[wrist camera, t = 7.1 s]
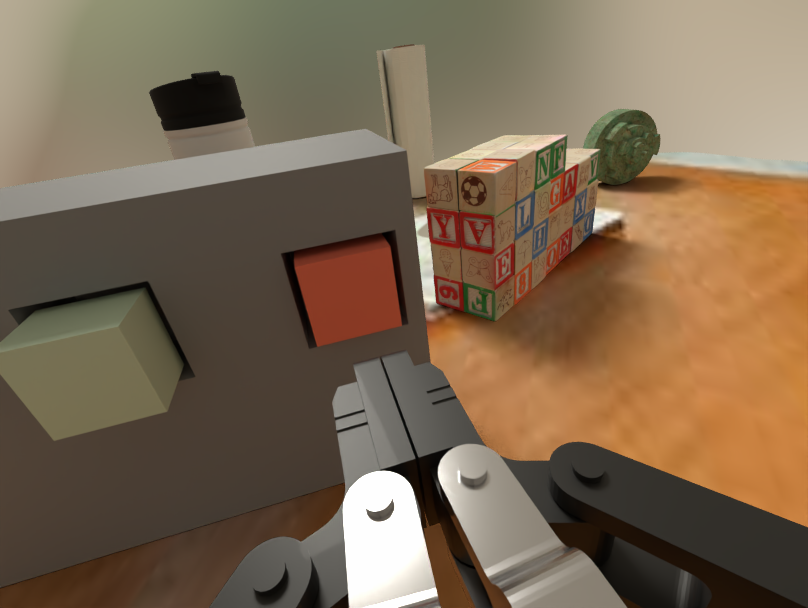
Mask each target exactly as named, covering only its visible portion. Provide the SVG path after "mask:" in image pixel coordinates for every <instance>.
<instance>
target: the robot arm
mask: <svg viewBox="0 0 808 608" xmlns="http://www.w3.org/2000/svg"><path fill="white" fill-rule="evenodd" d="M380 360H381V362H380ZM353 367H354V371H355V375H356V380H357V382H354V383H351V384H347V385H343V386H340V387H338V388H337V391H336V393H335V396H334V399H333V402H332V404H333V410H334V417H335V423H336V429H337V435H338V441H339V448H340V454H341V460H342V466H343V472H344V479H345V495H344V499H343V502H342V504H341V506H340V508H339V510H338V511H337V513H336V514H335V515H334V517H333V518H332V519H331V520H330V521H329V522H328V523H327V524H326V525H324V526H323V527H322V528H320V529H319V530H318V531H316V532H315V533H313V534H312V535H310V536H309V537H307V538H306V539H305V540H303V541H302V542H300V541H299V540H297V539H295V538H291V537H276V538H273V539H270V540H267V541H265V542H263V543H261V544H260V545H258V546H257V547H255V548H254V549H253V550H252V551H250V552H249V553H248V554H247V555H246V556H245V558H244V559H243V560H242V561H241V563H240V564H239V565H238V567H237V568H236V570H235V571H234V573H233V574H232V575H231V577H230V578H229V580H228V581H227V583H226V584H225V585H224V587H223V588H222V590H221V591H220V593H219V594H218V595H217V597H216V598H215V600H214V601H213V603H212V604H211V605H210V607H209V608H441V605H440V602H439V598H438V594H437V590H436V586H435V582H434V578H433V573H432V569H431V565H430V561H429V556H428V552H427V546H426V541H425V535H424V529H423V528H426V527H427V525H426V519H425V514H426V517H427V520H428V523H429V526H431V525H434V524H437V523H440V525H441V527H442V530H443V533H444V536H445V538H446V541H447V549H448V555H449V558H450V561H451V563H452V565H453V568H454V570H455V572H456V575H457V577H458V579H459V581H460V584H461V586H462V588H463V590H464V593H465V595H466V597H467V600H468V602H469V604H470V606H471V608H808V527H805V526H803V525H800V524H798V523H795V522H792V521H790V520H787V519H785V518H782V517H780V516H777V515H774V514H772V513H769V512H767V511H764V510H762V509H759V508H756V507H754V506H751V505H749V504H746V503H744V502H741V501H738V500H736V499H733V498H731V497H728V496H725V495H723V494H720V493H718V492H715V491H713V490H710V489H707V488H705V487H702V486H700V485H697V484H695V483H692V482H689V481H687V480H684V479H682V478H679V477H677V476H674V475H671V474H669V473H666V472H664V471H661V470H659V469H656V468H653V467H651V466H648V465H646V464H643V463H640V462H638V461H635V460H633V459H630V458H628V457H625V456H622V455H620V454H617V453H615V452H612V451H610V450H607V449H604V448H602V447H599V446H597V445H593V444H590V443H585V442H571V443H566V444H564V445H561V446H560V447H558V448H557V449H556V450H555V451H554V452H553V454H552V455H551V458H550V461H516V460H511V459H507V458H504V457H502V456H499V455H498V454H497V453H496V452H495V451H493V450H492V449H490V448H488V447H487V446H486V445H485V444H484V443H483V441H482V440H481V438H480V436H479V435H478V433H477V431H476V429H475V428H474V426H473V424H472V422H471V421H470V419H469V417H468V415H467V414H466V412H465V410H464V408H463V407H462V405H461V403H460V401H459V400H458V398H457V397H456V394H455V393H454V391H453V389H452V387H450V384H449V382H448V380H447V378H446V377H445V375H444V373H443V371H441V370H440V369H438V368H437V367H435V366H434V365H432V364H431V363H430V362H427V363H423V364H420V365H416V366H414V365H413V363H412V360H411V358H410V356H409V354H408V352H407V350H406V349H405V350H401V351H397V352H393V353H389V354H386V355H382V356H380V359H379V357H375V358H371V359H367V360H363V361H360V362H356V363H353ZM424 511H425V513H424Z"/></svg>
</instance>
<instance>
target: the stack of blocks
mask: <svg viewBox="0 0 808 608" xmlns="http://www.w3.org/2000/svg"><path fill="white" fill-rule="evenodd" d="M600 150H601V149H567V135H527V136H515V135H512V136H511V135H506V136H501V137H499V138H496V139H494V140H491V141H489V142H486V143H484V144H481V145H479V146H476V147H474V148H472V149H471V150H468V151H465V152H463V153H460V154H458V155H456V156H453V157H451V158H449V159H445V160H442V161H439V162H437V163H435V164H432V165H429V166H427V167H425V168H424V179H425V188H426V197H427V204H428V207H427V219H428V229H429V239H430V242H431V251H432V260H433V270H434V285H435V295H436V303H438V304H441V305H444V306H447V307H450V308H453V309H456V310H460V311H463V312H467V313H470V314H473V315H476V316H479V317H482V318H486V319H489V320H492V321H497V320H498V319H499V318H500V317H501V316H502V315H503V314H505V313H506V312H507V311H508V310H509V309H510V308H511V307H512V306H513V305H516V304H517V303H518V302H519V301H520V300H521V299H522V298H523V297H524V296H526V295H527V294H528V293H529V292H530V291H531V290H532V289H533V288H534V287H536V286H537V285H538V284H539V283H540V282H541V281H542V280H543V279H544V278H545V276H546V275H547V274H548V273H549V272H550V271H551V270H552V269H553V268H555V267H556V266H557V265H558V263H559V262H560V261H562V260H563V259H564V258H565V257H566V256H567V255H568V254H569V253H570V252H572V251H573V250H574V249H575V248H577V247H578V246H579V245H580V244H581V243H582V242H583V241H584V240H585V239H586V238H587V237H588V236H589V235H590V234H591V233H592V230H593V221H594V213H595V205H596V197H597V188H598V179H597V177H598V169H599V160H600Z"/></svg>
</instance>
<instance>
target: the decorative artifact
mask: <svg viewBox="0 0 808 608" xmlns="http://www.w3.org/2000/svg"><path fill="white" fill-rule="evenodd" d="M659 147H660V134H657V129H656V125H655V123H654V121H653V119H652V118H651V117H650V116H649V115H648V114H647V113H645V112H643V111H639V110H629V109H618V110H614V111H611V112H609V113H607V114H606V115H604V116H603V117H601V118H600V119H599V120H598V121H597V122H596V123H595V124H594V126H593V127H592V128H591V130H590V131H589V133H588V135H587V137H586V140H585V142H584V146H583V149H601V150H600V160H599V169H598V177H597V179H598V181H601V182H604V183H607V184H611V185H618V184H623V183H626V182H628V181H630V180H632V179H633V178H635V177H636V176H638V175H639V174H640V173H641V172H642V171H643V170H644V168H645V167H646V166H647V165H648V163H649V161H650V160H651V158H652V156H653V154H654V155H657V154H658V151H659Z"/></svg>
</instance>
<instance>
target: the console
mask: <svg viewBox="0 0 808 608" xmlns="http://www.w3.org/2000/svg"><path fill="white" fill-rule="evenodd" d="M377 233H382V235H383V236H384V238H385V239H386V241H387V242H388V244H389V245H390V248H391V254H392V261H393V268H394V275H395V281H396V288H397V295H398V302H399V308H400V315H401V322H402V326H399V327H395V328H391V329H387V330H383V331H379V332H375V333H371V334H367V335H363V336H359V337H355V338H351V339H347V340H343V341H339V342H335V343H331V344H327V345H323V346H319V347H317V344H316V340H315V337H314V333H313V330H312V326H311V323H310V319H309V316H308V312H307V309H306V305H305V302H304V298H303V295H302V291H301V288H300V284H299V281H298V277H297V274H296V270H295V264H294V251H295V250H300V249H305V248H309V247H314V246H319V245H324V244H329V243H334V242H338V241H343V240H348V239H353V238H358V237H363V236H367V235H372V234H377ZM140 288H146V290H147V292H148V294H149V296H150V298H151V300H152V302H153V304H154V306H155V308H156V310H157V312H158V314H159V316H160V318H161V320H162V322H163V324H164V326H165V328H166V330H167V332H168V334H169V336H170V338H171V339H172V341H173V343H174V345H175V347H176V349H177V351H178V353H179V355H180V357H181V359H182V361H183V363H184V366H183V369H182V372H181V375H180V378H179V380H178V383H177V386H176V389H175V391H174V394H173V397H172V400H171V403H170V405H169V408H168V411H167V412H164V413H160V414H156V415H152V416H149V417H145V418H141V419H137V420H133V421H129V422H125V423H121V424H118V425H114V426H110V427H106V428H102V429H98V430H94V431H91V432H87V433H83V434H79V435H75V436H71V437H67V438H63V439H60V440H56V441H54V440H53V439H52V438H51V437H50V435H49V434H48V433H47V432H46V430H45V429H44V428H43V427H42V425H41V424H40V423H39V422H38V420H37V419H36V418H35V417H34V415H33V414H32V413H31V412H30V411H29V409H28V408H27V407H26V406H25V404H24V403H23V402H22V401H21V399H20V398H19V397H18V396H17V394H16V393H15V392H14V391H13V390H12V388H11V387H10V386H9V385H8V383H7V382H6V381H5V380H4V378H3V377H2V376H1V375H0V588H1V587H5V586H8V585H11V584H14V583H18V582H21V581H24V580H27V579H31V578H34V577H37V576H41V575H44V574H47V573H50V572H54V571H57V570H60V569H63V568H67V567H70V566H73V565H76V564H80V563H83V562H86V561H90V560H93V559H96V558H99V557H103V556H106V555H109V554H112V553H116V552H119V551H122V550H126V549H129V548H132V547H135V546H139V545H142V544H145V543H148V542H152V541H155V540H158V539H162V538H165V537H168V536H171V535H175V534H178V533H181V532H184V531H188V530H191V529H194V528H198V527H201V526H204V525H207V524H211V523H214V522H217V521H220V520H224V519H227V518H230V517H233V516H237V515H240V514H243V513H247V512H250V511H253V510H256V509H260V508H263V507H266V506H269V505H273V504H276V503H279V502H283V501H286V500H289V499H292V498H296V497H299V496H302V495H305V494H309V493H312V492H315V491H319V490H322V489H325V488H328V487H332V486H335V485H338V484H341V483H345V479H344V472H343V466H342V460H341V454H340V448H339V441H338V435H337V429H336V423H335V417H334V410H333V404H332V402H333V399H334V396H335V393H336V391H337V388H338V387H340V386H343V385H347V384H351V383H354V382H357V380H356V375H355V371H354V367H353V363H356V362H360V361H363V360H367V359H371V358H375V357H379V359H380V356H382V355H386V354H389V353H393V352H397V351H401V350H405V349H406V350H407V352H408V354H409V356H410V358H411V360H412V363H413V365H414V366H416V365H420V364H423V363H427V362H430V354H429V345H428V336H427V327H426V318H425V309H424V300H423V291H422V282H421V273H420V264H419V255H418V246H417V237H416V228H415V220H414V211H413V202H412V193H411V184H410V175H409V166H408V157H407V150H405V149H403V148H401V147H399V146H398V145H396V144H394V143H392V142H390V141H388V140H386V139H384V138H382V137H380V136H378V135H376V134H375V133H373V132H371V131H369V130H367V129H361V130H355V131H349V132H344V133H337V134H331V135H325V136H319V137H312V138H307V139H300V140H294V141H288V142H282V143H276V144H269V145H263V146H258V147H251V148H245V149H239V150H233V151H226V152H220V153H214V154H208V155H202V156H196V157H190V158H183V159H177V160H171V161H166V162H159V163H153V164H147V165H140V166H134V167H128V168H123V169H116V170H110V171H104V172H98V173H91V174H85V175H79V176H73V177H67V178H61V179H55V180H48V181H42V182H36V183H30V184H24V185H18V186H12V187H5V188H0V342H1V341H2V340H3V339H5V338H6V337H7V336H8V335H9V334H10V333H11V332H12V331H13V330H15V329H16V328H17V327H18V326H19V325H20V324H21V323H22V322H23V321H25V320H26V319H27V318H28V317H29V316H30V315H31V314H32V313H33V312H35V311H36V310H40V309H44V308H49V307H54V306H59V305H63V304H68V303H73V302H78V301H83V300H87V299H92V298H97V297H102V296H106V295H111V294H116V293H121V292H126V291H130V290H135V289H140ZM380 362H381V360H380Z"/></svg>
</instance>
